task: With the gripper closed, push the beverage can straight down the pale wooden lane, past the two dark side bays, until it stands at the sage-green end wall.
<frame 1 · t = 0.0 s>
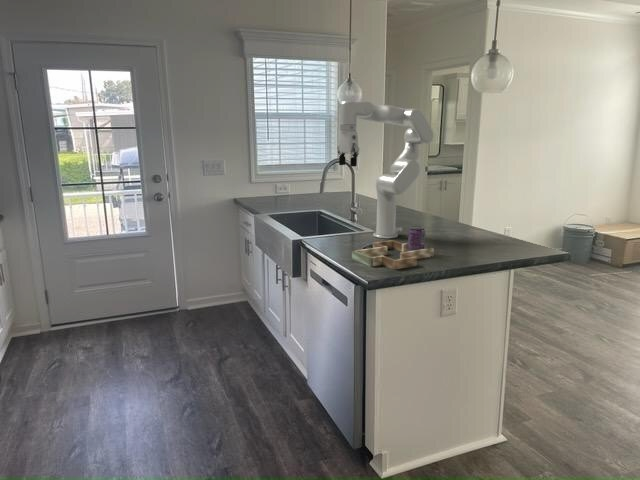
hand: (347, 165, 226), 37 cm above the worktop, tool pointing down, fingers open, 9 cm apart
beverage can: (415, 254, 210), on the worktop
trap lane: (394, 257, 204), on the worktop
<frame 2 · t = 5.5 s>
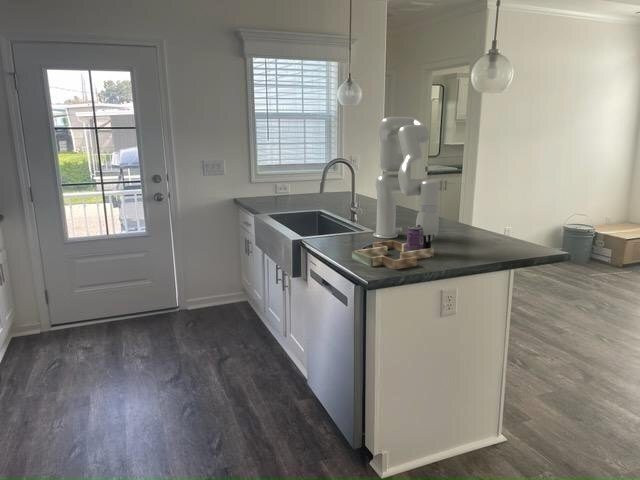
hand: (426, 249, 212), 1 cm above the worktop, tool pointing down, fingers closed
beverage can: (415, 254, 210), on the worktop, touching gripper
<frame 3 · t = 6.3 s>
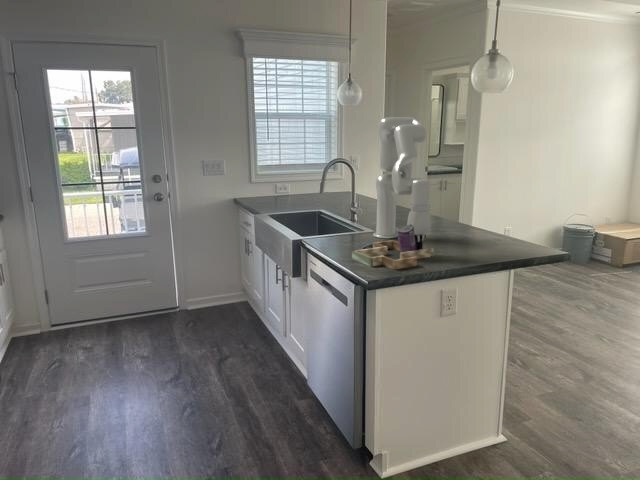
hand: (418, 250, 208), 2 cm above the worktop, tool pointing down, fingers closed
beverage can: (408, 253, 207), point 1 cm above the worktop, touching gripper
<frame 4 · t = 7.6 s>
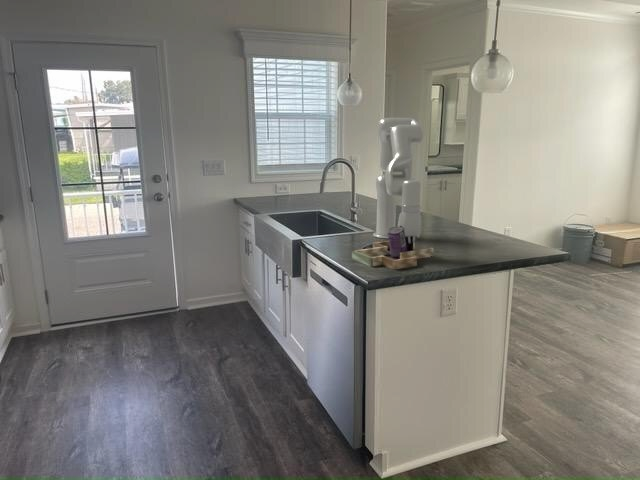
hand: (409, 251, 206), 2 cm above the worktop, tool pointing down, fingers closed
beverage can: (399, 254, 205), point 1 cm above the worktop, touching gripper
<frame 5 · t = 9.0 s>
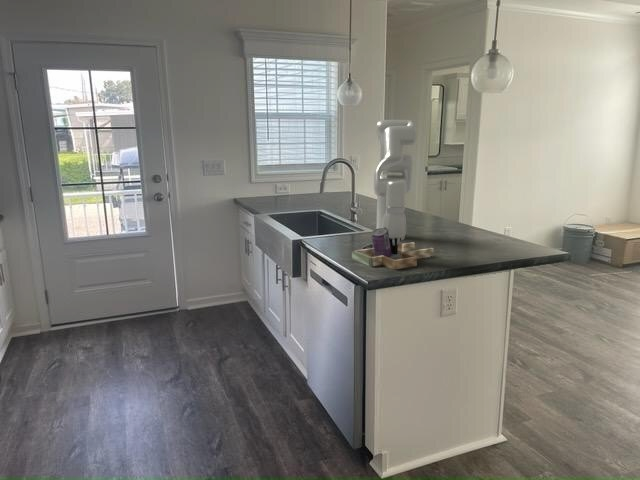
hand: (393, 253, 202), 2 cm above the worktop, tool pointing down, fingers closed
beverage can: (383, 257, 201), point 1 cm above the worktop, touching gripper
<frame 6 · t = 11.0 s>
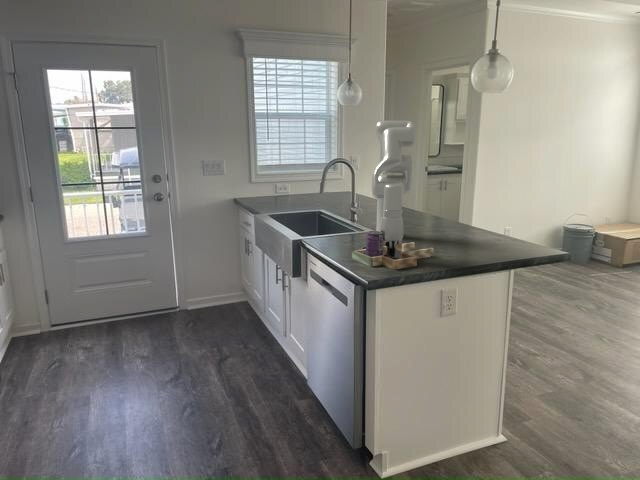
hand: (390, 256, 203), 1 cm above the worktop, tool pointing down, fingers closed
beverage can: (373, 261, 199), on the worktop
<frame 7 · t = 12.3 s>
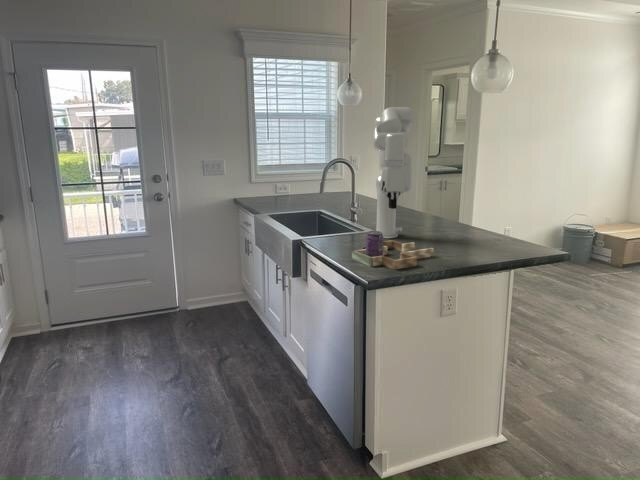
hand: (392, 208, 201), 21 cm above the worktop, tool pointing down, fingers closed
nothing on the worktop moved.
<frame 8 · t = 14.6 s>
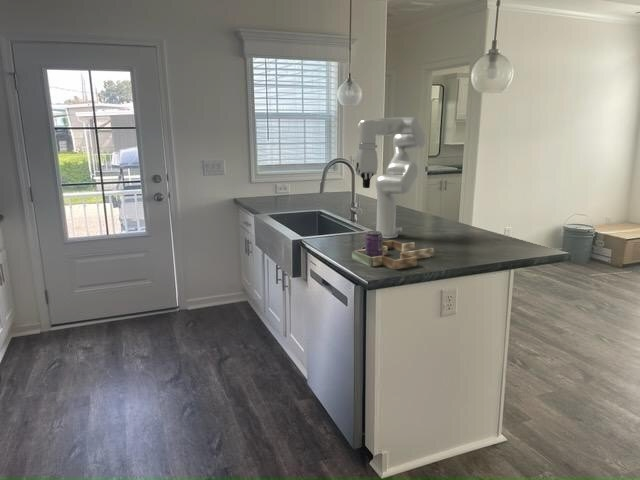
hand: (366, 187, 222), 27 cm above the worktop, tool pointing down, fingers closed
nothing on the worktop moved.
at the end: beverage can inside the target area on the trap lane (1.3 cm from its centre), point 0.0 cm above the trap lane's base; beverage can tilted 1° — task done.
